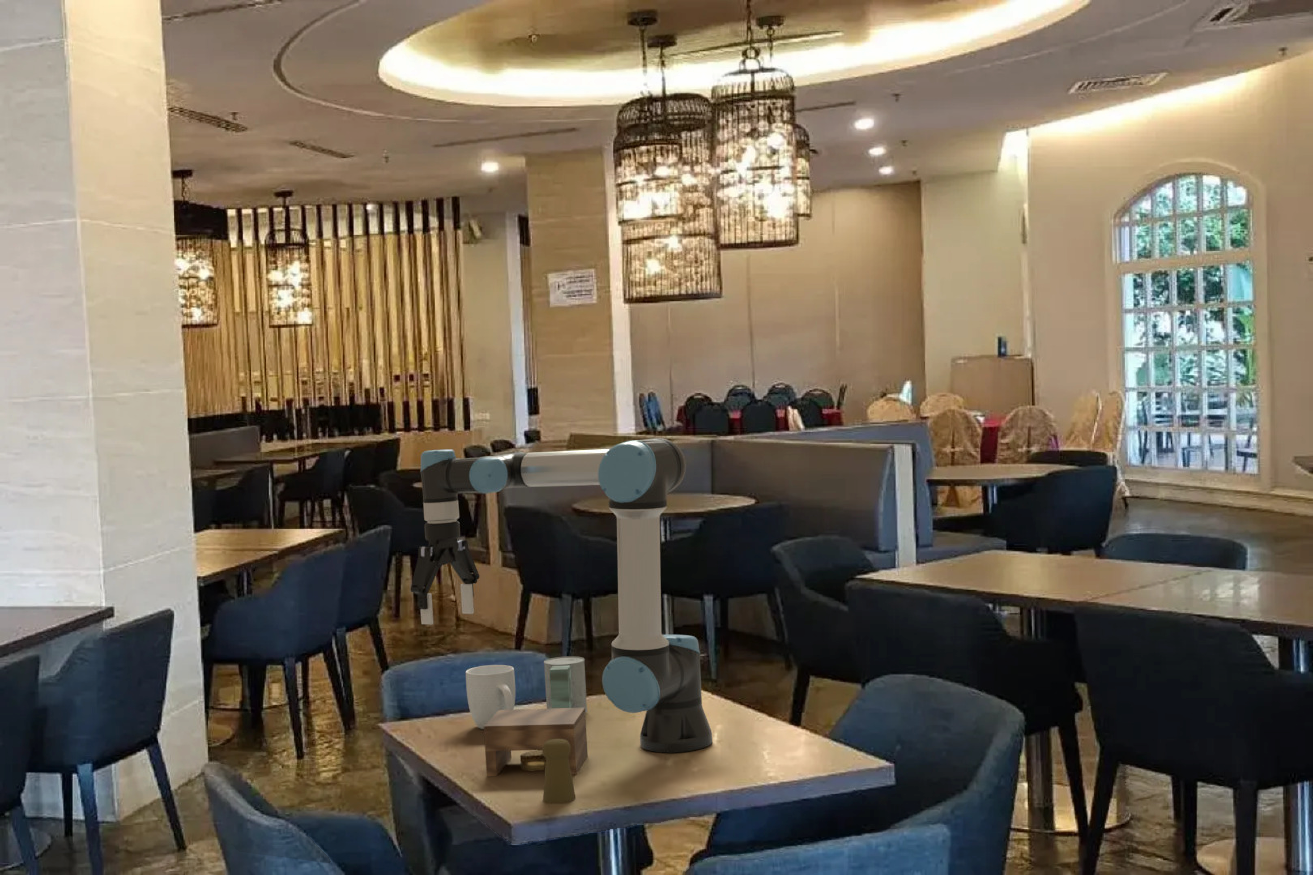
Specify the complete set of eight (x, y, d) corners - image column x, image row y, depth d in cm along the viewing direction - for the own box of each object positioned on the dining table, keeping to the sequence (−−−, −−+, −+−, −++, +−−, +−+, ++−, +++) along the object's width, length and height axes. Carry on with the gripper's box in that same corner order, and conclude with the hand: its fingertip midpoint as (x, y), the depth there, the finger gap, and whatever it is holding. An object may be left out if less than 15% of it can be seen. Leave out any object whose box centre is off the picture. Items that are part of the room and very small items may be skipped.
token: (561, 763, 294) (561, 751, 294) (544, 772, 288) (543, 760, 288) (532, 761, 297) (531, 749, 297) (514, 770, 291) (513, 758, 291)
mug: (534, 729, 324) (530, 671, 323) (490, 738, 318) (486, 679, 317) (503, 718, 336) (500, 662, 336) (460, 726, 330) (457, 669, 330)
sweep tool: (556, 728, 324) (552, 666, 324) (573, 727, 324) (570, 665, 323) (535, 756, 300) (531, 689, 300) (554, 755, 300) (550, 688, 299)
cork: (563, 805, 264) (559, 745, 264) (536, 801, 267) (533, 742, 267) (582, 796, 269) (578, 737, 269) (555, 792, 273) (552, 734, 272)
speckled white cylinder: (586, 716, 334) (583, 663, 334) (544, 718, 334) (541, 665, 334) (588, 707, 344) (585, 655, 343) (548, 708, 344) (545, 657, 343)
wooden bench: (587, 755, 298) (584, 707, 298) (576, 774, 285) (573, 724, 284) (502, 757, 301) (499, 709, 300) (486, 776, 287) (483, 726, 286)
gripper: (465, 515, 325) (471, 608, 326) (389, 527, 304) (396, 628, 305) (491, 514, 321) (497, 609, 322) (416, 527, 300) (423, 629, 301)
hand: (448, 618), depth 314 cm, fingers open, 13 cm apart
